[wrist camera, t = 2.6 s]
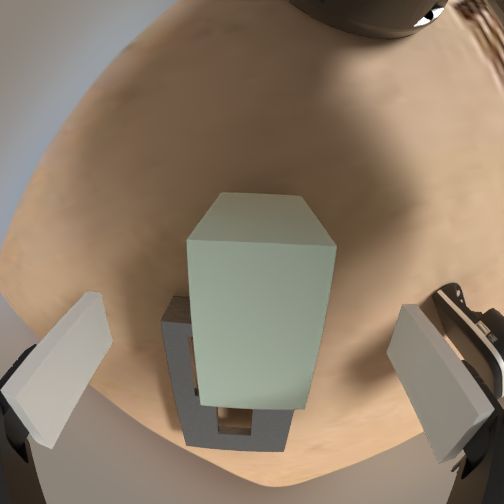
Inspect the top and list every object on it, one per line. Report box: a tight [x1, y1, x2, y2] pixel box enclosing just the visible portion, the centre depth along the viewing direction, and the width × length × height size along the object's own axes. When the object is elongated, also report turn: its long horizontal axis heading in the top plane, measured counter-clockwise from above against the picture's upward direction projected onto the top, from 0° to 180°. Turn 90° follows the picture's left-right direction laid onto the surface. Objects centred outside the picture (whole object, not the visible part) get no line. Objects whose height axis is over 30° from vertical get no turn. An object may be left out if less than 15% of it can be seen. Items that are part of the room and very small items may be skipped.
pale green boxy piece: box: [187, 192, 337, 410], centre depth 16 cm, size 8×6×12 cm
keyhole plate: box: [161, 296, 294, 452], centre depth 26 cm, size 18×11×4 cm, turn 178°
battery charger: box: [433, 283, 504, 399], centre depth 19 cm, size 7×4×11 cm, turn 38°
